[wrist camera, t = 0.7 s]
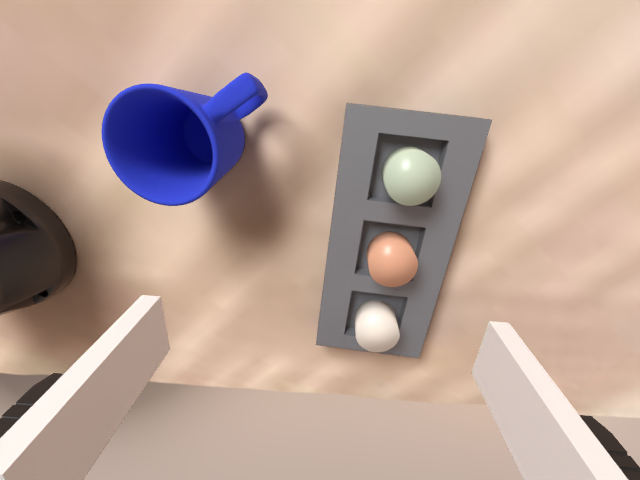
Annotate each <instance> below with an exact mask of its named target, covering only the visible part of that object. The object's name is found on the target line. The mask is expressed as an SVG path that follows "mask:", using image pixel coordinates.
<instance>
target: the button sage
mask: <svg viewBox="0 0 640 480" xmlns="http://www.w3.org/2000/svg"><path fill="white" fill-rule="evenodd" d="M381 177H382V181H383V183H384V186H385V188H386V190H387V192H388V194H389V195H390V197H391V198H392V199H393V200H394V201H396V202H397V203H399V204H402V205H406V206H415V205H419V204H422V203H424V202H426V201H428V200H429V199H430V198H431V197H432V196H433V195H434V194H435V193H436V191H437V190H438V188H439V185H440V182H441V170H440V167H439V165H438V163H437V161H436V160H435V159H434V158H433V157H432V156H430V155H429V154H427V153H426V152H424V151H423V150H421V149H419V148H416V147H412V146H405V147H401V148H398V149H396V150H394V151H393V152H392V153H390V154H389V155H388V156H387V158H386V159H385V161H384V163H383V165H382V170H381Z"/></svg>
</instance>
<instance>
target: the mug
mask: <svg viewBox="0 0 640 480" xmlns="http://www.w3.org/2000/svg"><path fill="white" fill-rule="evenodd" d="M267 97H268V95H267V91H266V89H265V88H264V86H263V84H262V83H261V82H260V81H259V80H258V79H257V78H256V77H254V76H253V75H251V74H249V73H243V74H241V75H240V76H238V77H237V78H236V79H234V80H233V81H232V82H230V83H229V84H228V85H227V86H225V87H224V88H223V89H221V90H220V91H219V92H218V93H217V94H216V95H214V96H213V97H210V96H206V95H201V94H197V93H193V92H189V91H184V90H180V89H176V88H172V87H167V86H163V85H158V84H140V85H135V86H132V87H129V88H127V89H125V90H124V91H122V92H120V93H119V94H118V95H117V96H116V97H115V98H114V99H113V100H112V101H111V103H110V104H109V106H108V108H107V110H106V112H105V115H104V118H103V123H102V141H103V147H104V150H105V153H106V156H107V159H108V161H109V163H110V165H111V167H112V168H113V170H114V172H115V173H116V175H117V176H118V177H119V178H120V180H121V181H122V182H123V183H124V184H125V185H126V186H127V187H128V188H129V189H130V190H132V191H133V192H134V193H136V194H137V195H139V196H141V197H142V198H144V199H146V200H148V201H151V202H153V203H157V204H161V205H167V206H178V205H184V204H188V203H191V202H193V201H195V200H197V199H199V198H200V197H202V196H203V195H204V194H205V193H206V192H207V191H208V190H209V189H210V188H211V187H213V186H214V185H215V184H216V183H217V182H218V181H219V180H220V179H221V178H222V177H223V176H224V175H225V174H226V173H227V172H228V171H229V170H230V169H231V168H232V167H233V166H234V165H235V164H236V163H237V162H238V160H239V159H240V157H241V155H242V153H243V149H244V144H245V136H244V130H243V127H242V124H241V122H240V120H239V119H242V118H244V117H245V116H247V115H249V114H250V113H252V112H253V111H254V110H256V109H257V108H258V107H260V106H261V105H262V104H263V103H264V102H265V101H266V99H267Z"/></svg>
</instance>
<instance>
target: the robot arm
mask: <svg viewBox="0 0 640 480" xmlns="http://www.w3.org/2000/svg"><path fill="white" fill-rule="evenodd" d="M75 268H76V254H75V249H74V246H73V243H72V240H71V238H70V236H69V234H68V232H67V230H66V228H65V227H64V225H63V224H62V222H61V221H60V220H59V219H58V217H57V216H56V215H55V214H54V213H53V212H52V211H51V210H50V209H49V208H48V207H47V206H46V205H45V204H44V203H43V202H41V201H40V200H39V199H38V198H36V197H35V196H33V195H32V194H30V193H29V192H27V191H25V190H24V189H22V188H20V187H18V186H15V185H13V184H10V183H7V182H4V181H0V315H2V314H5V313H9V312H12V311H15V310H18V309H22V308H25V307H28V306H31V305H35V304H38V303H40V302H43V301H45V300H47V299H49V298H50V297H52V296H53V295H55V294H56V293H58V292H59V291H61V290H62V289H63V288H65V287H66V286H67V285H68V284H69V283H70V281H71V280H72V278H73V276H74V273H75ZM169 350H170V346H169V340H168V335H167V329H166V324H165V318H164V312H163V307H162V301H161V296H147V295H141V297H140V298H139V299H138V300H137V301H136V302H135V303H134V304H133V305H132V306H131V307H130V308H129V309H128V310H127V311H126V312H125V313H124V314H123V315H122V316H121V317H120V318H119V319H118V320H117V321H116V322H115V323H114V324H113V325H112V326H111V327H110V328H109V329H108V330H107V331H106V332H105V333H104V334H103V335H102V336H101V337H100V338H99V339H98V340H97V341H96V342H95V343H94V344H93V345H92V346H91V347H90V348H89V349H88V350H87V351H86V352H85V353H84V354H83V355H82V356H81V357H80V358H79V359H78V360H77V361H76V362H75V363H74V364H73V365H72V366H71V367H70V368H69V369H68V370H67V371H66V372H65V373H64V374H58V373H53V374H52V375H50V376H48V377H47V378H45V379H44V380H42V381H41V382H39V383H37V384H36V385H34V386H33V387H32V388H31V389H30V390H29V391H28V392H26V393H25V394H24V395H23V396H22V397H21V398H20V399H19V400H18V401H17V403H16V405H13V406H12V407H11V408H10V409H9V410H7V411H6V412H5V413H4V414H3V415H2V418H1V419H0V480H83V479H84V478H85V476H86V475H87V473H88V472H89V470H90V469H91V467H92V466H93V464H94V463H95V461H96V460H97V458H98V457H99V455H100V454H101V452H102V451H103V449H104V447H105V446H106V445H107V443H108V442H109V440H110V438H111V437H112V436H113V434H114V433H115V431H116V430H117V428H118V427H119V425H120V424H121V422H122V421H123V419H124V418H125V416H126V415H127V413H128V412H129V410H130V409H131V407H132V406H133V404H134V403H135V401H136V399H137V398H138V397H139V395H140V394H141V392H142V391H143V389H144V388H145V386H146V384H147V383H148V382H149V380H150V379H151V377H152V376H153V374H154V373H155V371H156V370H157V368H158V367H159V365H160V364H161V362H162V361H163V359H164V358H165V356H166V354H167V353H168V351H169ZM472 375H473V377H474V379H475V381H476V383H477V385H478V387H479V389H480V391H481V393H482V396H483V398H484V400H485V402H486V404H487V406H488V408H489V410H490V412H491V414H492V416H493V418H494V420H495V422H496V424H497V426H498V428H499V430H500V432H501V434H502V436H503V439H504V441H505V443H506V445H507V447H508V449H509V451H510V453H511V455H512V457H513V459H514V461H515V463H516V465H517V467H518V469H519V471H520V473H521V475H522V477H523V480H640V467H639V466H638V465H637V464H636V462H635V461H634V460H633V459H632V458H631V456H628V455H627V451H626V450H625V449H624V448H623V447H622V445H621V444H620V443H619V442H618V440H617V439H616V438H615V437H614V436H613V434H612V433H610V432H609V431H608V430H607V429H606V428H605V427H604V426H602V425H601V424H600V423H599V422H597V421H596V420H595V419H594V418H593V417H592V416H583V415H579V414H578V413H577V412H576V410H575V409H574V408H573V407H572V405H571V404H570V403H569V401H568V400H567V399H566V397H565V396H564V395H563V393H562V392H561V391H560V389H559V388H558V387H557V386H556V384H555V383H554V382H553V380H552V379H551V378H550V376H549V375H548V374H547V372H546V371H545V370H544V368H543V367H542V366H541V365H540V363H539V362H538V361H537V359H536V358H535V357H534V355H533V354H532V353H531V351H530V350H529V349H528V347H527V346H526V345H525V344H524V342H523V341H522V340H521V338H520V337H519V336H518V334H517V333H516V332H515V330H514V329H513V328H512V326H511V325H510V324H509V323H504V322H491V321H489V323H488V326H487V329H486V332H485V335H484V338H483V341H482V344H481V347H480V350H479V352H478V355H477V358H476V361H475V364H474V367H473V370H472Z"/></svg>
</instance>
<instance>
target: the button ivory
mask: <svg viewBox="0 0 640 480" xmlns="http://www.w3.org/2000/svg"><path fill="white" fill-rule="evenodd" d="M355 333H356V340H357V342H358V344H359V345H360V346H361V347H362V348H364V349H365V350H368V351H371V352H384V351H387V350H389V349H391V348H393V347H394V346H395V345H396V344H397V342H398V340H399V337H400V333H399V328H398V324H397V320H396V316H395V312H394V310H393V308H392V307H391V306H390V305H389V304H388V303H386V302H384V301H380V300H371V301H367V302H365V303H363V304H361V305H360V306H359V307H358V308H357V310H356V312H355Z"/></svg>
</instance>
